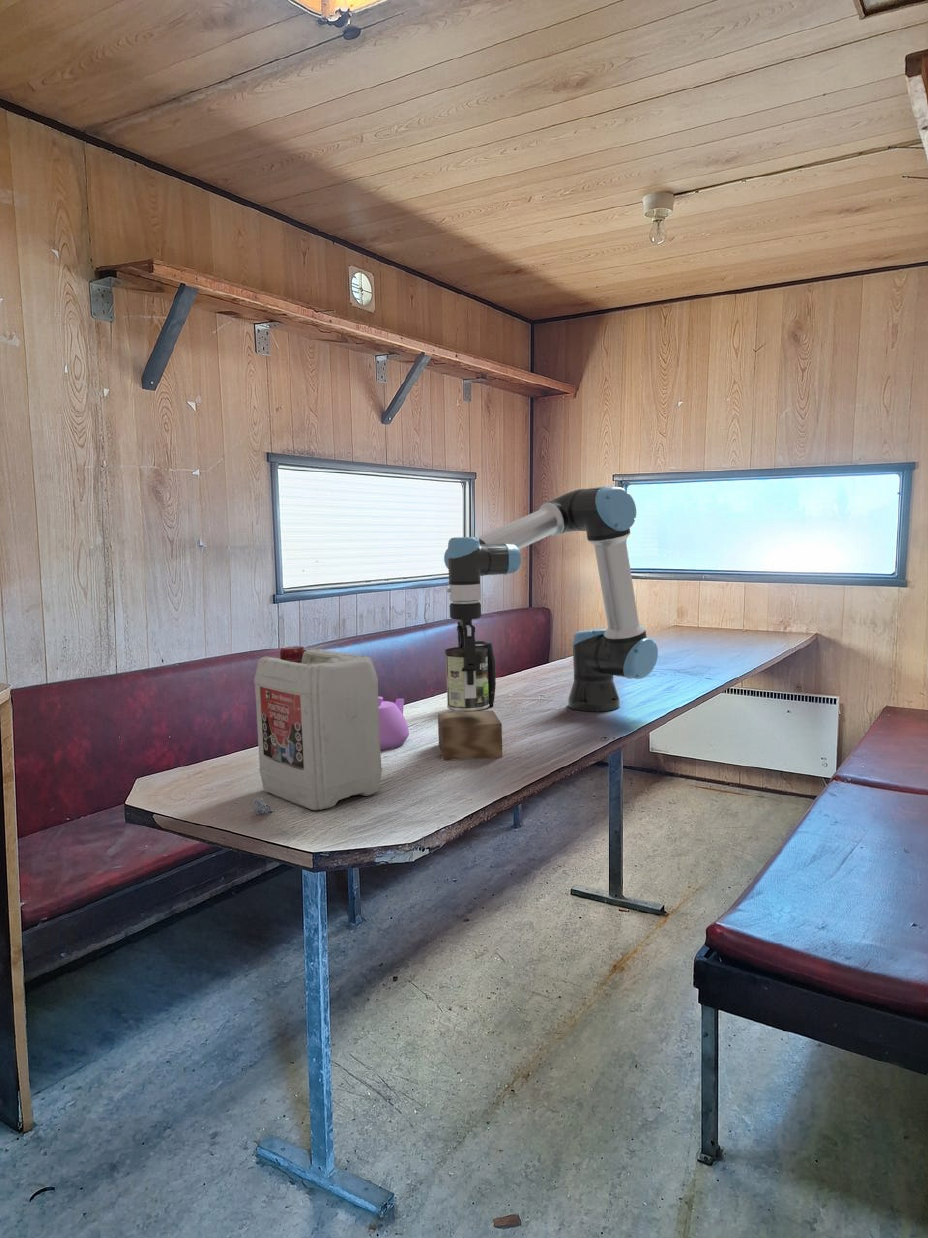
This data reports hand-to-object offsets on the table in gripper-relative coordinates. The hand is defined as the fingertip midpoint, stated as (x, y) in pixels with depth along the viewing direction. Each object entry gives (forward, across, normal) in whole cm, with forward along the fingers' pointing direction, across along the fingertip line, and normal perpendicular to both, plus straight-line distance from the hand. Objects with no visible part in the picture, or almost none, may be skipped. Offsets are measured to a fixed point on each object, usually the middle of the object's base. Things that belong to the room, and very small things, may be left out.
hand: (467, 693), depth 194 cm
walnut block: (+14, 0, 0) cm, 14 cm away
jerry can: (+14, +25, -34) cm, 45 cm away
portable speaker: (+14, -48, +9) cm, 51 cm away
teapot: (+15, -12, -22) cm, 29 cm away
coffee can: (+3, 0, 0) cm, 3 cm away
